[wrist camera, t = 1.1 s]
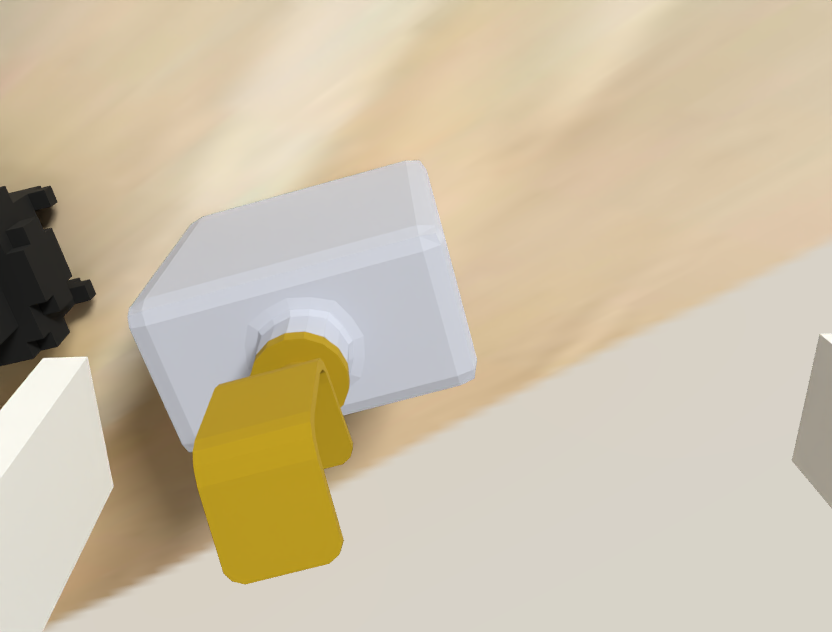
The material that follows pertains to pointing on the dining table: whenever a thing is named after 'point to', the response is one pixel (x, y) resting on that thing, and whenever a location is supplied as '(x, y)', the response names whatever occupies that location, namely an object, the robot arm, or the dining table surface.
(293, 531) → the soap bottle
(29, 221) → the toy
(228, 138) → the dining table surface
